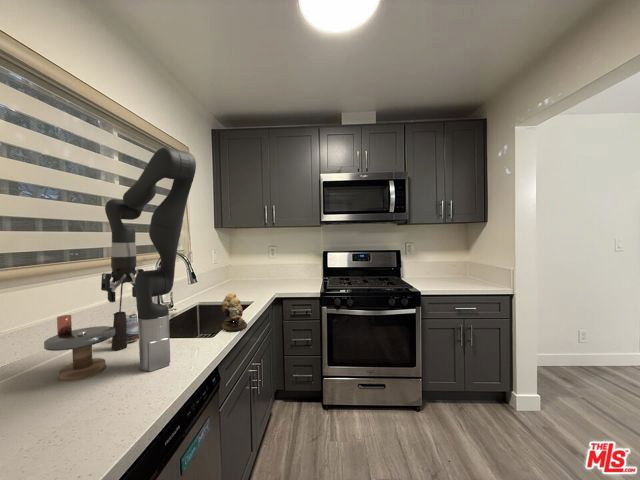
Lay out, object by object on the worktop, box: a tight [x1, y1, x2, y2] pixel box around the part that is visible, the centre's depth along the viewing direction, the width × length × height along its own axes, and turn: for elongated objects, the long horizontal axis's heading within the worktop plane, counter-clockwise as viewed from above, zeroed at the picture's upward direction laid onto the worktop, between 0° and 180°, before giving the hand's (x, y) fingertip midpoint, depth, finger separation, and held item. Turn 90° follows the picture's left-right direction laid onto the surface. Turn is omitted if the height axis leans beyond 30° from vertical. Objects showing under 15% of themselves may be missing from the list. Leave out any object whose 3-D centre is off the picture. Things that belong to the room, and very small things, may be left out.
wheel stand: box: [57, 345, 107, 382], centre depth 93 cm, size 12×12×11 cm
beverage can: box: [126, 312, 139, 343], centre depth 120 cm, size 6×7×12 cm
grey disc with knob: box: [43, 314, 115, 352], centre depth 93 cm, size 18×18×8 cm
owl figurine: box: [221, 292, 248, 332], centre depth 136 cm, size 18×12×17 cm, turn 29°
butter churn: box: [110, 283, 128, 352], centre depth 111 cm, size 9×10×28 cm
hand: (124, 299), depth 101 cm, fingers open, 8 cm apart
